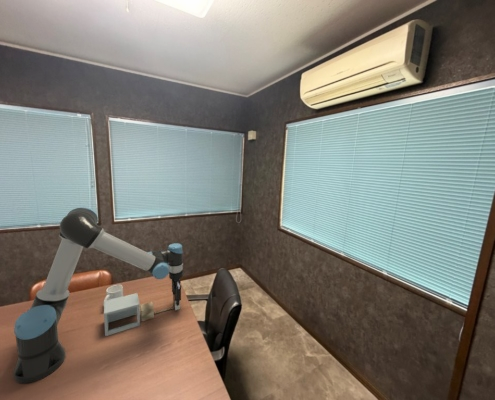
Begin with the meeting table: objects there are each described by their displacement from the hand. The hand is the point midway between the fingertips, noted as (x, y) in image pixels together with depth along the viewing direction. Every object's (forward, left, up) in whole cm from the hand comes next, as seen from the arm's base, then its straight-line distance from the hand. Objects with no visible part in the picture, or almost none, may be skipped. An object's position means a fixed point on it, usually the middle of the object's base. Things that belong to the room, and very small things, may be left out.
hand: (176, 307), depth 127 cm
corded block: (-9, 0, 0) cm, 9 cm away
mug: (-32, +18, 0) cm, 37 cm away
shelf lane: (-27, 0, 0) cm, 27 cm away
